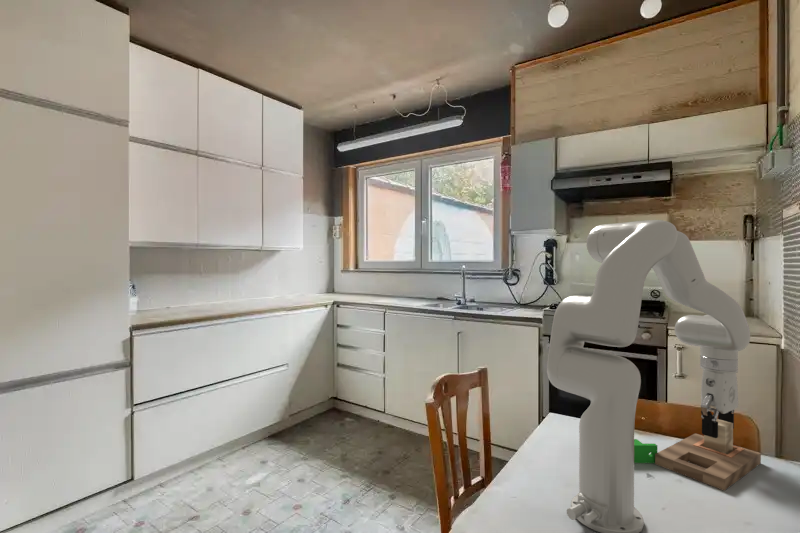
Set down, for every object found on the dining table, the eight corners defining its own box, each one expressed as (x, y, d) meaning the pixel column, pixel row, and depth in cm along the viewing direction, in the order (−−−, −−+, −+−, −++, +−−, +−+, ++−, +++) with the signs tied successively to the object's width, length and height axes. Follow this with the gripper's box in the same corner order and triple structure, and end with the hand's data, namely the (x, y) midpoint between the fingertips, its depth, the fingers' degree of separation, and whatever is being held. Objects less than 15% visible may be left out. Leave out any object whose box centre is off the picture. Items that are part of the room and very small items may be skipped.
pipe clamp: (648, 457, 105) (648, 439, 105) (657, 464, 101) (657, 445, 101) (604, 456, 105) (604, 438, 105) (611, 463, 101) (611, 444, 101)
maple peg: (725, 463, 101) (725, 426, 101) (703, 456, 105) (704, 421, 104) (732, 458, 103) (733, 423, 103) (711, 451, 107) (711, 417, 107)
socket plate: (724, 490, 89) (724, 478, 89) (655, 464, 100) (655, 453, 100) (760, 463, 101) (760, 452, 101) (695, 442, 112) (695, 432, 112)
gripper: (722, 372, 96) (721, 445, 96) (750, 362, 105) (749, 429, 105) (686, 365, 102) (685, 434, 102) (715, 357, 111) (714, 419, 112)
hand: (718, 431), depth 104 cm, fingers open, 9 cm apart
